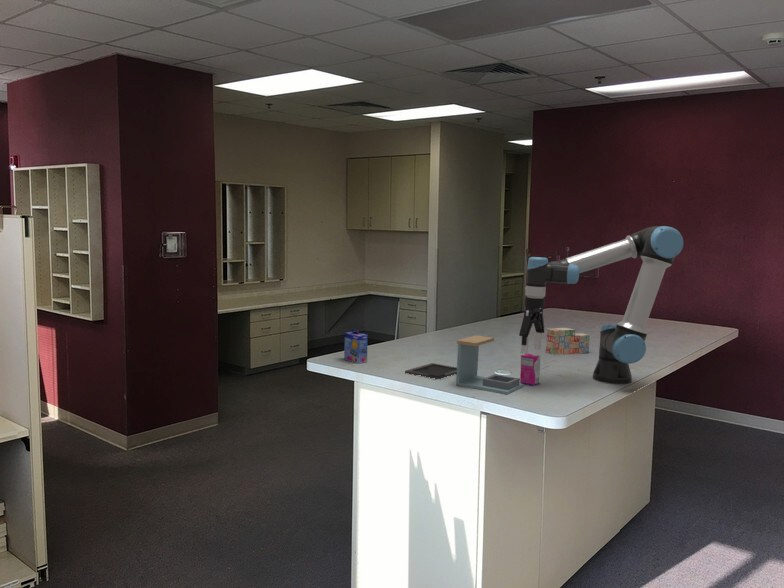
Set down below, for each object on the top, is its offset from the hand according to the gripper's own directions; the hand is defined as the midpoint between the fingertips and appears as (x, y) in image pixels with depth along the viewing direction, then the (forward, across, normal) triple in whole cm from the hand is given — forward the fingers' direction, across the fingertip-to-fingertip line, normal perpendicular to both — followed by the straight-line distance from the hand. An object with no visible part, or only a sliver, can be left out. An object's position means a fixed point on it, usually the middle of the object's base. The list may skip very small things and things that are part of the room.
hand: (530, 351), depth 258 cm
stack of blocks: (+13, -77, -9) cm, 78 cm away
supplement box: (+13, 0, 0) cm, 13 cm away
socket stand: (+13, +14, -10) cm, 22 cm away
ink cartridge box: (+14, +13, -74) cm, 77 cm away
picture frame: (+14, +8, -37) cm, 41 cm away
